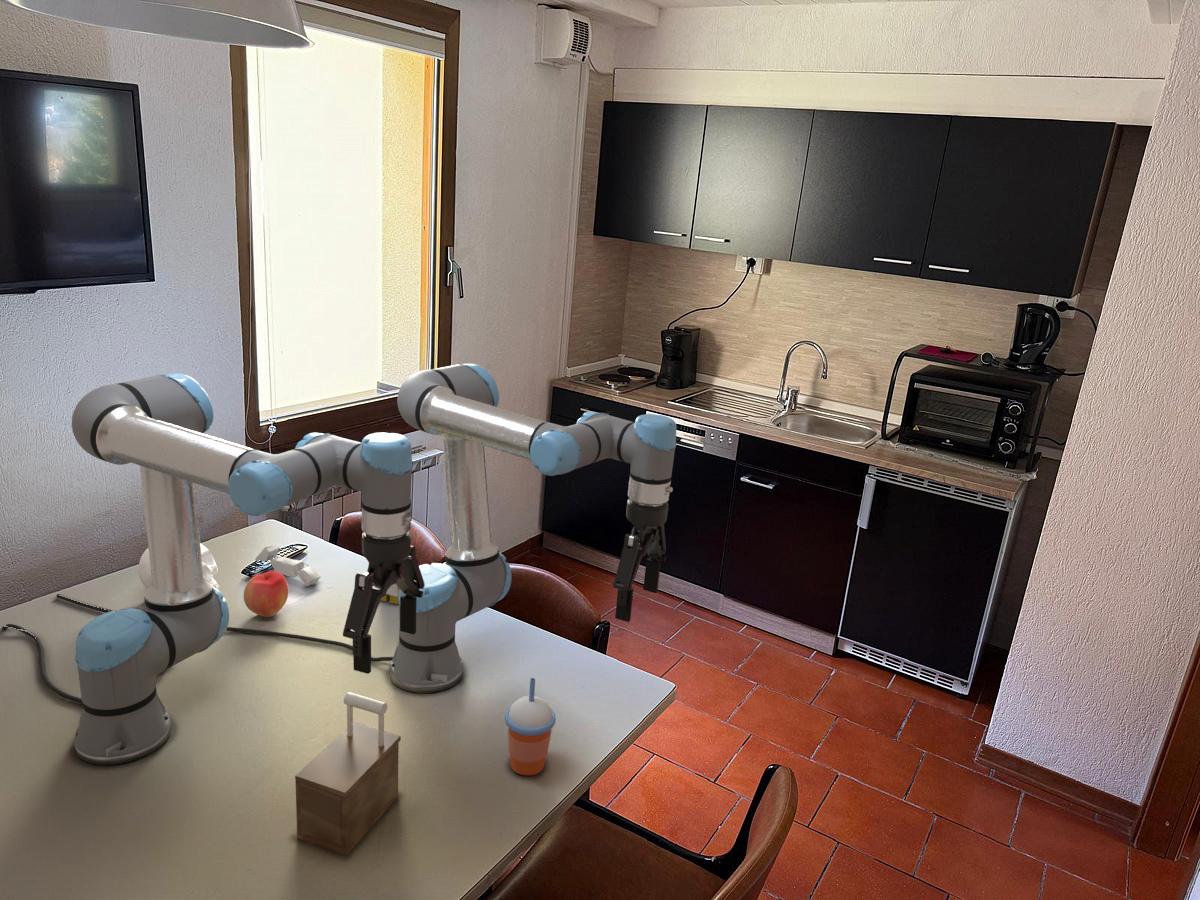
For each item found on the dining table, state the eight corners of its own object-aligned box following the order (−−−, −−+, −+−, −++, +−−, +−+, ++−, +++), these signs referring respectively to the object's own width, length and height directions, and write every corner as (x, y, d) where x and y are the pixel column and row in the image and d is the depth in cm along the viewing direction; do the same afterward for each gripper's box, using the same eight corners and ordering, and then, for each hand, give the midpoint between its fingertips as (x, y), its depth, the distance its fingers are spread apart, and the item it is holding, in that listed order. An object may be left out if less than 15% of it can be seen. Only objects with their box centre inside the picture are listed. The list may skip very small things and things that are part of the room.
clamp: (253, 565, 223) (254, 542, 221) (265, 560, 226) (266, 537, 224) (309, 593, 215) (310, 569, 213) (320, 588, 218) (321, 564, 216)
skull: (204, 622, 195) (202, 558, 191) (126, 603, 200) (122, 540, 196) (244, 599, 207) (242, 538, 203) (169, 582, 213) (166, 522, 209)
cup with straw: (544, 786, 151) (550, 698, 146) (495, 775, 153) (500, 688, 148) (557, 754, 160) (563, 670, 154) (511, 745, 161) (515, 661, 156)
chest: (352, 781, 149) (352, 728, 146) (398, 796, 146) (398, 742, 143) (296, 838, 135) (295, 780, 132) (346, 856, 133) (345, 798, 129)
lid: (354, 726, 146) (353, 680, 144) (400, 740, 143) (401, 694, 141) (295, 780, 132) (293, 731, 130) (345, 797, 129) (344, 748, 127)
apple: (273, 600, 207) (272, 562, 204) (297, 613, 202) (296, 575, 199) (237, 614, 200) (234, 575, 197) (261, 628, 194) (259, 588, 191)
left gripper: (361, 566, 122) (362, 695, 128) (446, 510, 145) (443, 622, 151) (316, 555, 124) (319, 683, 130) (407, 502, 147) (406, 612, 153)
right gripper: (641, 526, 143) (629, 638, 149) (690, 485, 165) (678, 584, 171) (600, 516, 146) (590, 626, 152) (654, 477, 167) (643, 575, 174)
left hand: (386, 650), depth 141 cm, fingers open, 13 cm apart
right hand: (636, 604), depth 162 cm, fingers open, 13 cm apart
